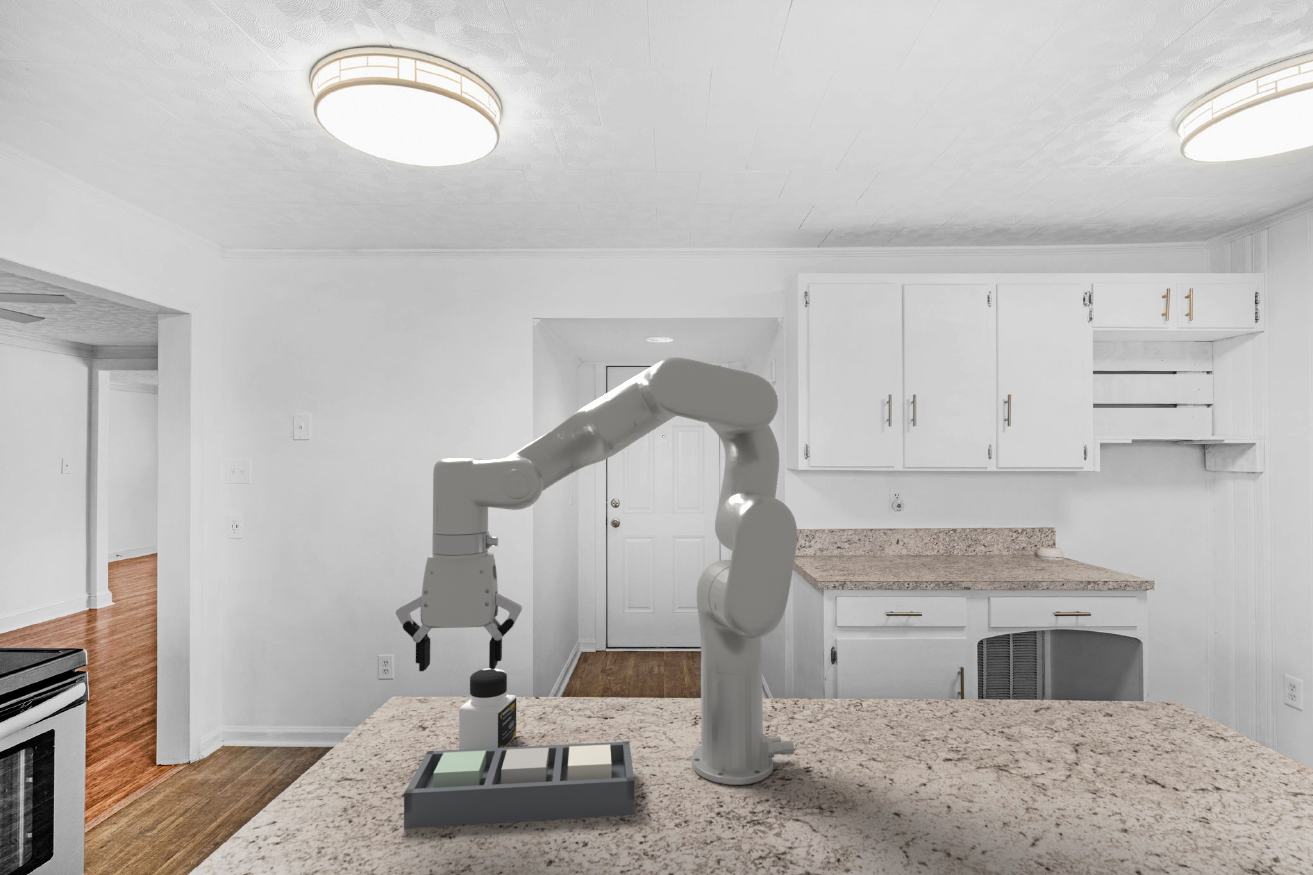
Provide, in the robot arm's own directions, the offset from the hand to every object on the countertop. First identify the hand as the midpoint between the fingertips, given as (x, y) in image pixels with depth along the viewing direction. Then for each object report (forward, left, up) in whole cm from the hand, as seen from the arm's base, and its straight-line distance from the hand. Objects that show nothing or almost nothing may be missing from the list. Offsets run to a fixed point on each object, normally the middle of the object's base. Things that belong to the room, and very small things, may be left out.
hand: (459, 667), depth 91 cm
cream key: (-18, 0, -15) cm, 24 cm away
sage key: (0, 0, -15) cm, 15 cm away
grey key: (-9, 0, -15) cm, 18 cm away
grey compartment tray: (-9, 0, -19) cm, 21 cm away
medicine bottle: (-1, -18, -19) cm, 26 cm away
